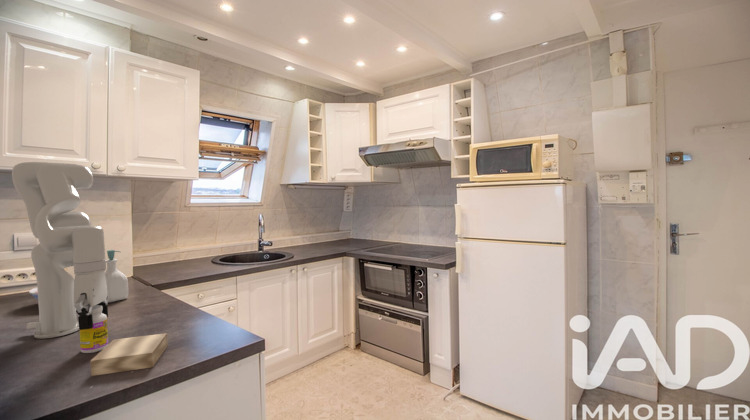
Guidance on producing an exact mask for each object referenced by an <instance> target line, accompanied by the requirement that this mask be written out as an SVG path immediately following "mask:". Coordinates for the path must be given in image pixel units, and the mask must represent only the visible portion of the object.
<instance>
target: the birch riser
mask: <svg viewBox="0 0 750 420" xmlns="http://www.w3.org/2000/svg"><path fill="white" fill-rule="evenodd" d="M168 342H169V341H168V333H167V332H165V333H157V334H149V335H139V336H132V337H125V338H117V339H116V338H115V339H113V340H111V342H109V343H108V345H107V346H106V347H105V348H104V349H103V350H100V351H99V352H98V353H97V354H96V355H95V356H94V357H92V358H91V360H90V374H91V375H90V376H91V377H94V376H100V375H106V374H107V375H108V374H113V373H114V374H115V373H121V372H122V373H123V372H128V371H135V370H136V371H137V370H142V369H143V370H144V369H151V368H154V366H155V365H156V363H157V362H158V361H159V360H160V358H161V356H162V355H163V353H164V352H165V351H166V349H167V348H168V347H169V345H168Z"/></svg>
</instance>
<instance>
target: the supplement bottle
mask: <svg viewBox="0 0 750 420" xmlns="http://www.w3.org/2000/svg"><path fill="white" fill-rule="evenodd" d="M85 309H86V310H87V309H88V308H85ZM102 310H103V307H102V306H101V305H95V306H93V307H92V310H91V314H92V318H93V328H91V329H84V330H79V344H80V353H83V354H91V353H96V352H101V351H102V350H103V349H104V348H105V347H106V346H107V345H108V344H109V334H108V333H109V331H108V317H107V316H106V315H105V314H103V313H102Z"/></svg>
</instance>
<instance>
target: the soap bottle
mask: <svg viewBox="0 0 750 420" xmlns="http://www.w3.org/2000/svg"><path fill="white" fill-rule="evenodd" d="M106 253H107V257H108V259H105V260H106V271H105V277H106V283H107V289H108V293H107V296H108V298H107V301H108V303H114V302H117V301H121V300H122V301H123V300H125V299H127V298H128V297H129V283H128V281H129V280H128V277H127V276H126V274H124V272H122V271H120V270H119V269H118V268H117V262H118V260H119V259H118V258H115V255H116V253H120V251H118V250H115V249H109V250H106Z"/></svg>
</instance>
